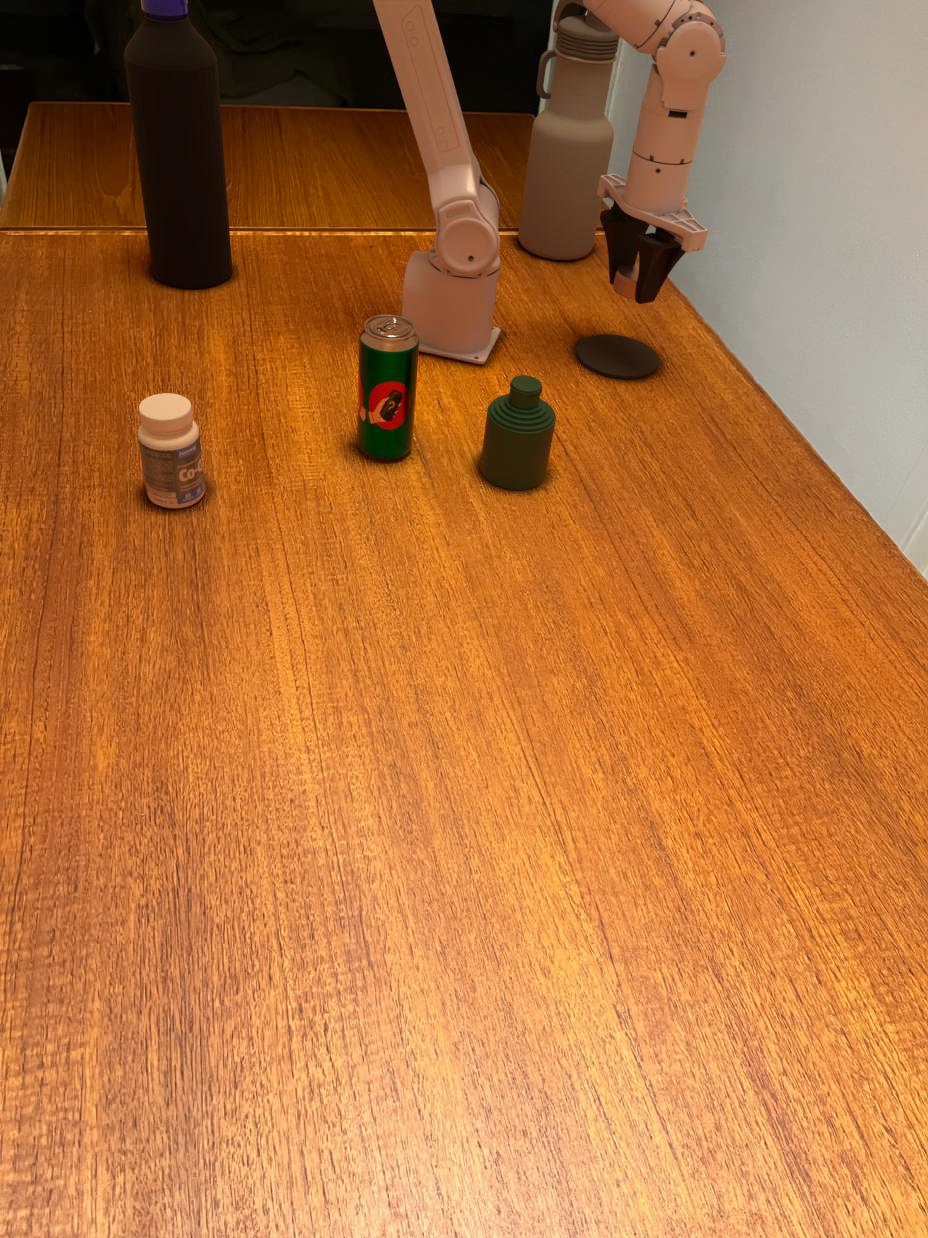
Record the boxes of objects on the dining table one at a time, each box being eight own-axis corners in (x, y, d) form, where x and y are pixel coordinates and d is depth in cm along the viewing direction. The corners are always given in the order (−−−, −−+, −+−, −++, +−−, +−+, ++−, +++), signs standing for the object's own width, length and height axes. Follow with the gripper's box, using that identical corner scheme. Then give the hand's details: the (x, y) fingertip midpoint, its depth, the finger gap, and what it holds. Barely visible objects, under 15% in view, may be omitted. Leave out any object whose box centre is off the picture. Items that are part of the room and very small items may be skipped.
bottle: (248, 271, 112) (231, -13, 93) (194, 296, 106) (163, 0, 87) (191, 248, 115) (162, -32, 95) (135, 272, 109) (93, -21, 90)
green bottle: (473, 481, 86) (484, 392, 80) (488, 445, 91) (499, 359, 85) (538, 496, 86) (554, 408, 80) (551, 459, 90) (567, 373, 84)
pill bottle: (192, 514, 79) (181, 427, 74) (137, 503, 80) (122, 415, 74) (214, 482, 83) (205, 395, 77) (161, 471, 83) (149, 384, 77)
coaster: (569, 368, 103) (569, 365, 102) (583, 330, 109) (583, 327, 109) (653, 386, 102) (654, 383, 101) (662, 347, 108) (663, 344, 108)
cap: (628, 302, 98) (633, 283, 97) (605, 285, 100) (609, 266, 99) (659, 296, 100) (664, 277, 98) (635, 280, 102) (640, 261, 101)
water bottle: (502, 232, 127) (533, -19, 107) (567, 226, 130) (608, -19, 111) (539, 265, 120) (579, 5, 101) (606, 258, 124) (657, 4, 105)
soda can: (423, 449, 89) (432, 329, 81) (383, 470, 86) (389, 347, 78) (385, 425, 92) (390, 306, 83) (345, 445, 89) (346, 323, 80)
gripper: (746, 177, 88) (707, 317, 98) (648, 124, 97) (620, 257, 106) (687, 185, 85) (652, 328, 95) (591, 130, 94) (568, 266, 103)
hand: (632, 291), depth 100 cm, fingers closed on cap, 4 cm apart
